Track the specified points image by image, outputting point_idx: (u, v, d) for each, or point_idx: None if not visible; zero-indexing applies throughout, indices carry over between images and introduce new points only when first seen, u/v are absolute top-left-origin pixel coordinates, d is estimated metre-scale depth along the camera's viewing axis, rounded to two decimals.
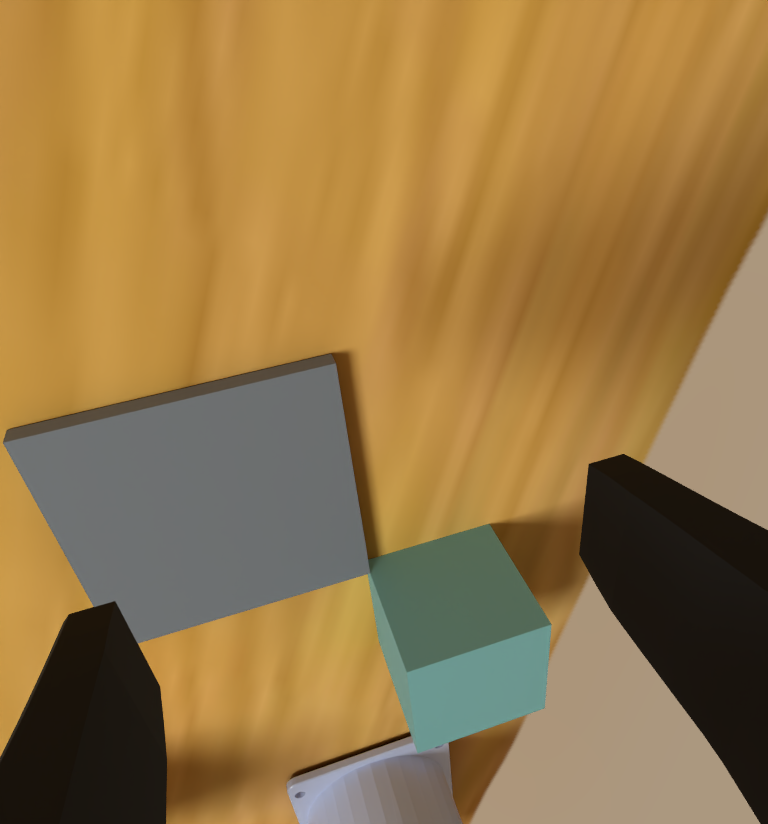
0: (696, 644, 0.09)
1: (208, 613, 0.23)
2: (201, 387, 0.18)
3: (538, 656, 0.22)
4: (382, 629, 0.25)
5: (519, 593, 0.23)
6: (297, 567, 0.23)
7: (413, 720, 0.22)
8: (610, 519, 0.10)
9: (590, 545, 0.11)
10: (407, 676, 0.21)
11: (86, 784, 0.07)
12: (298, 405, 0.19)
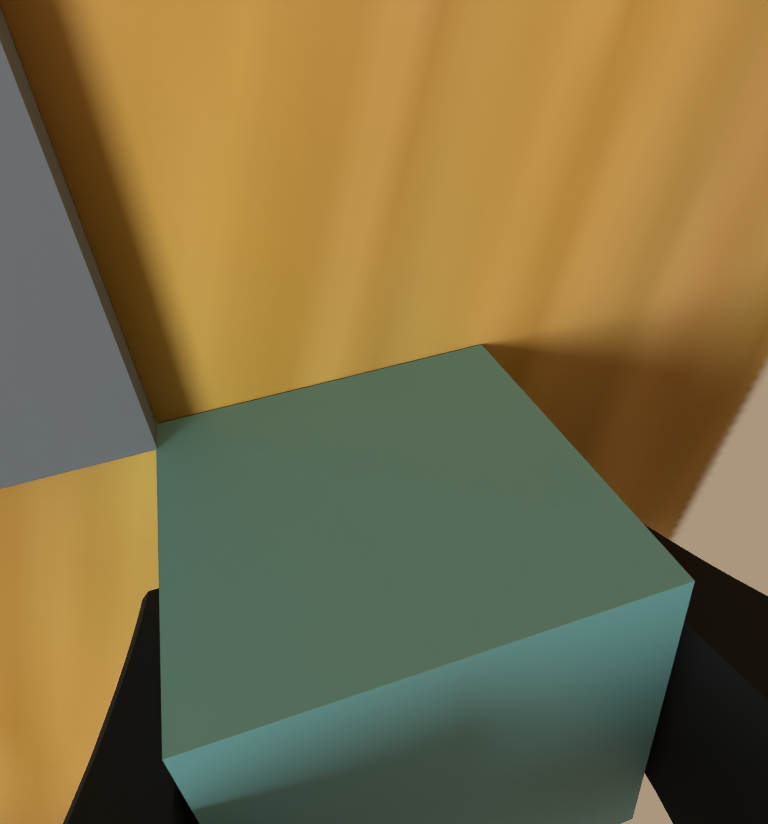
0: None
1: None
2: None
3: (637, 687, 0.07)
4: None
5: (574, 492, 0.07)
6: None
7: None
8: None
9: None
10: (173, 771, 0.06)
11: None
12: None
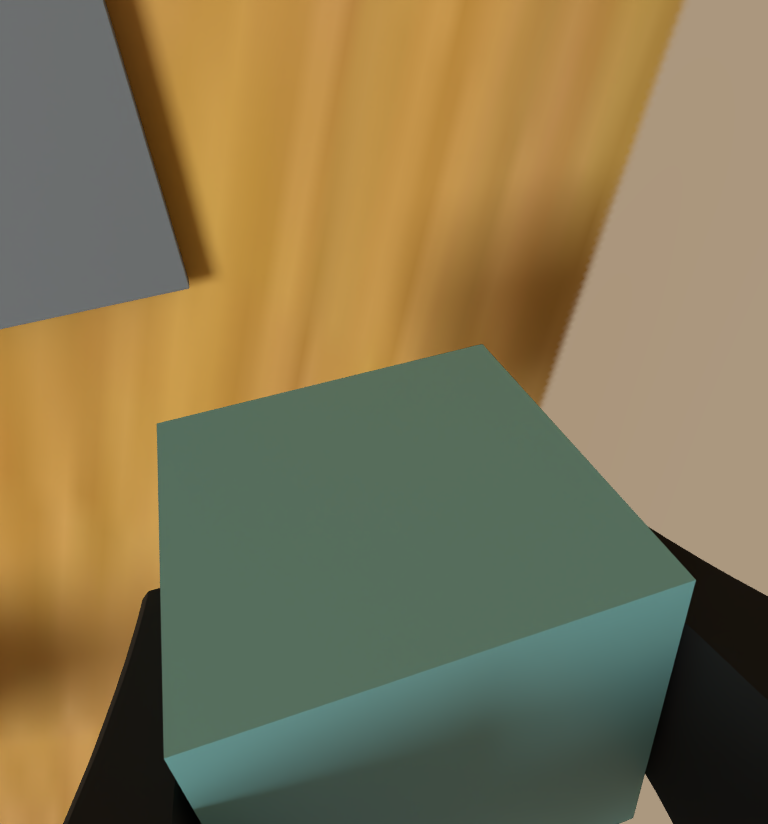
0: None
1: None
2: None
3: (638, 686, 0.07)
4: None
5: (575, 492, 0.07)
6: (51, 253, 0.14)
7: None
8: None
9: None
10: (175, 770, 0.06)
11: None
12: None
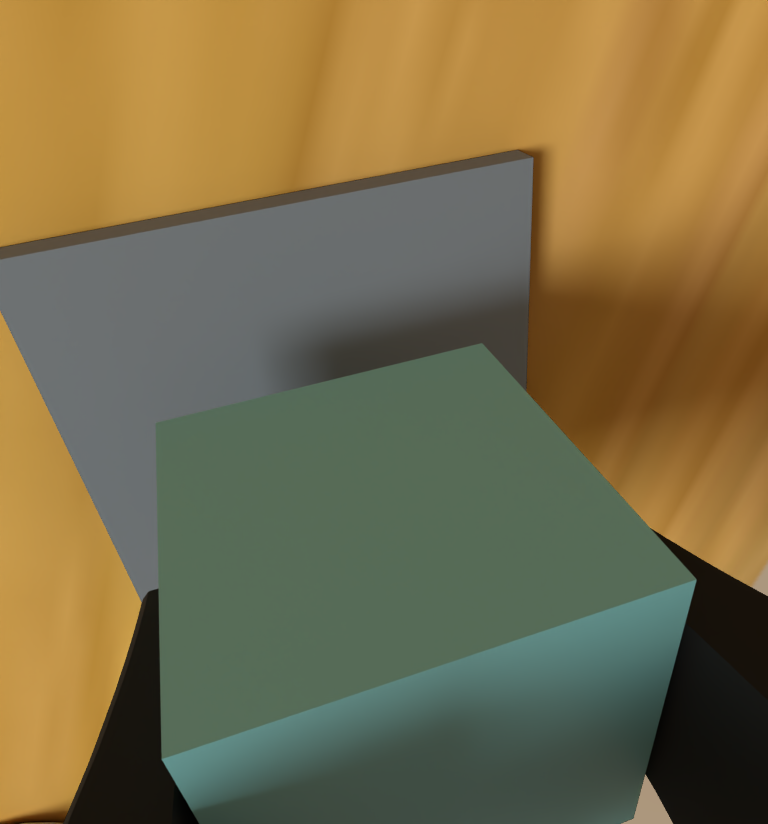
0: None
1: None
2: (313, 191, 0.11)
3: (639, 686, 0.07)
4: None
5: (576, 491, 0.07)
6: None
7: None
8: None
9: None
10: (173, 771, 0.06)
11: None
12: (466, 233, 0.12)
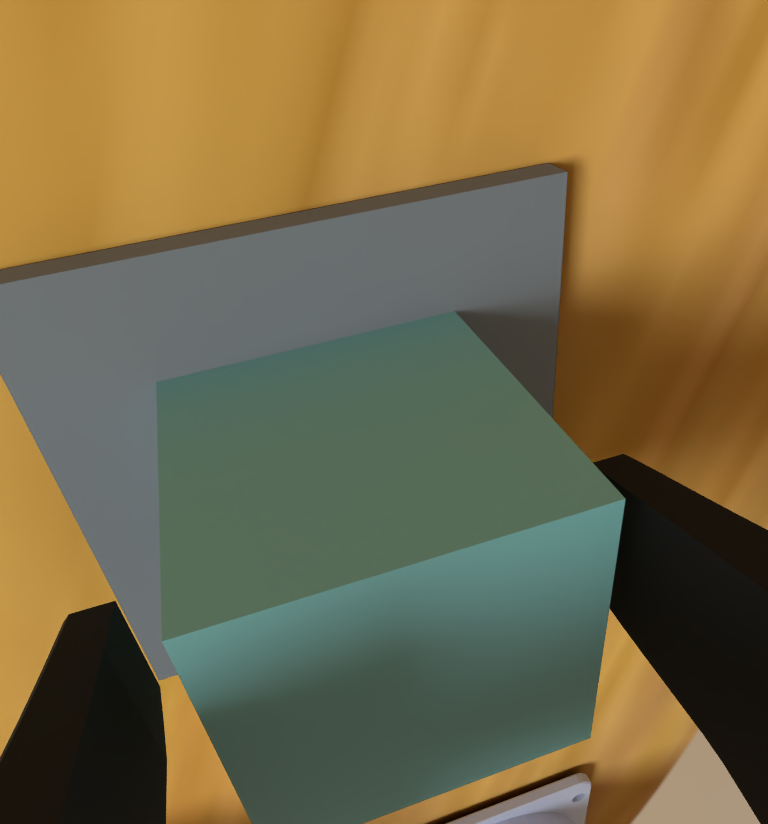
0: (696, 644, 0.09)
1: None
2: (328, 209, 0.10)
3: (582, 601, 0.08)
4: None
5: (528, 431, 0.08)
6: None
7: (234, 782, 0.08)
8: None
9: None
10: (171, 655, 0.06)
11: (86, 784, 0.07)
12: (493, 254, 0.11)
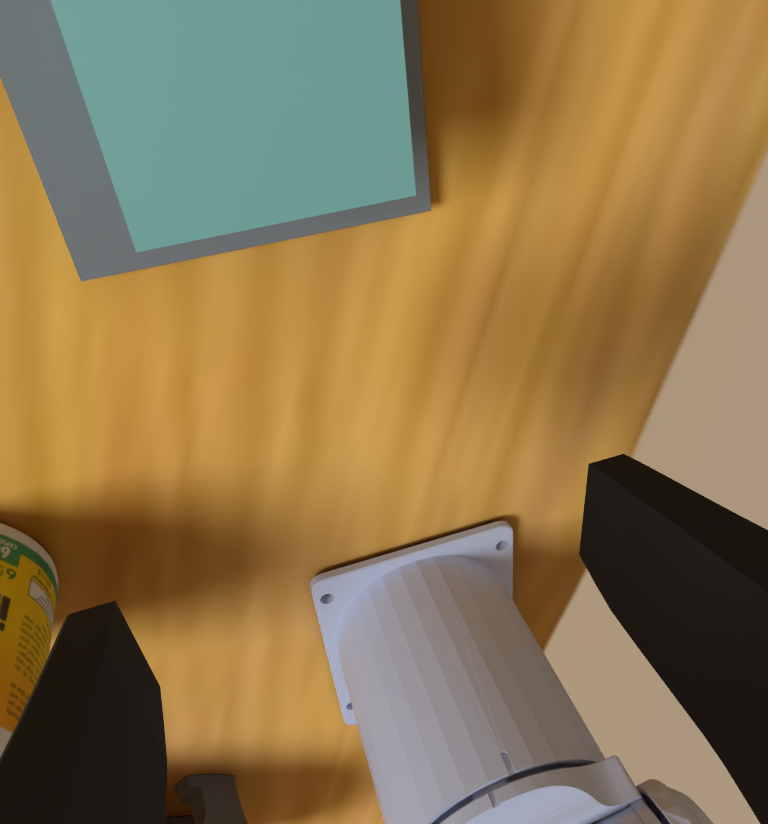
0: (696, 644, 0.09)
1: (209, 238, 0.16)
2: None
3: None
4: None
5: None
6: None
7: (91, 117, 0.10)
8: (610, 519, 0.10)
9: (590, 545, 0.11)
10: None
11: (86, 784, 0.07)
12: None
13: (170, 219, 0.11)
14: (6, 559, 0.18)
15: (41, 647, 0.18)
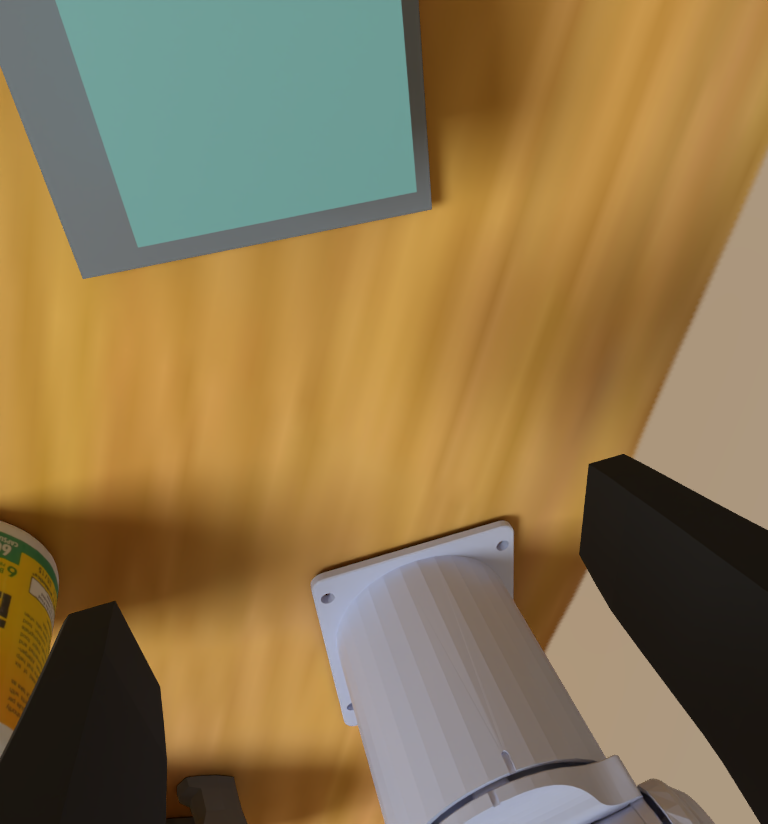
0: (696, 644, 0.09)
1: (210, 236, 0.16)
2: None
3: None
4: None
5: None
6: None
7: (94, 112, 0.10)
8: (610, 519, 0.10)
9: (590, 545, 0.11)
10: None
11: (86, 784, 0.07)
12: None
13: (172, 214, 0.11)
14: (7, 557, 0.18)
15: (42, 645, 0.18)
